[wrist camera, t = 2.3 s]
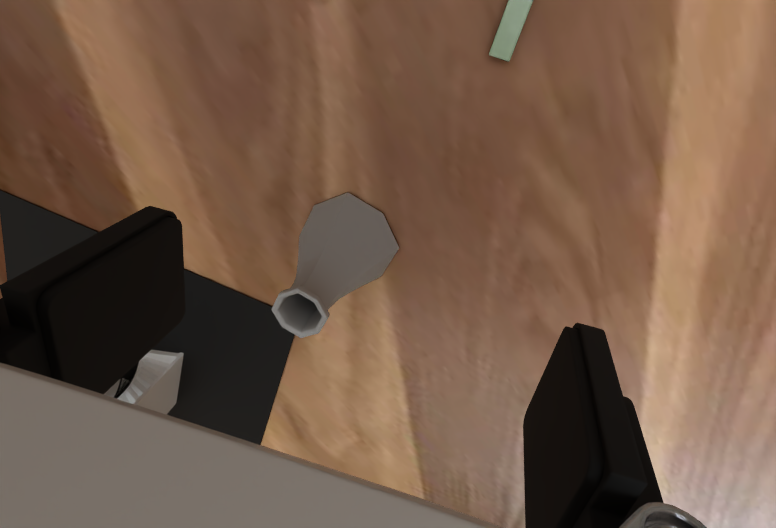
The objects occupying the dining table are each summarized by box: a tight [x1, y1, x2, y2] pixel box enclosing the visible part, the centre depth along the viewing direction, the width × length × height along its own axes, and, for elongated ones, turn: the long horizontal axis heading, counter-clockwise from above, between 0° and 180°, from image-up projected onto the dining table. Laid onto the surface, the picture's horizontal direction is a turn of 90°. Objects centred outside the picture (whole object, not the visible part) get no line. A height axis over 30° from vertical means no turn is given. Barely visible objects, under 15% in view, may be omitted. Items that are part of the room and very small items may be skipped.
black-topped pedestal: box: [0, 191, 294, 445], centre depth 42 cm, size 28×26×13 cm
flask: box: [271, 193, 399, 338], centre depth 32 cm, size 7×7×10 cm
